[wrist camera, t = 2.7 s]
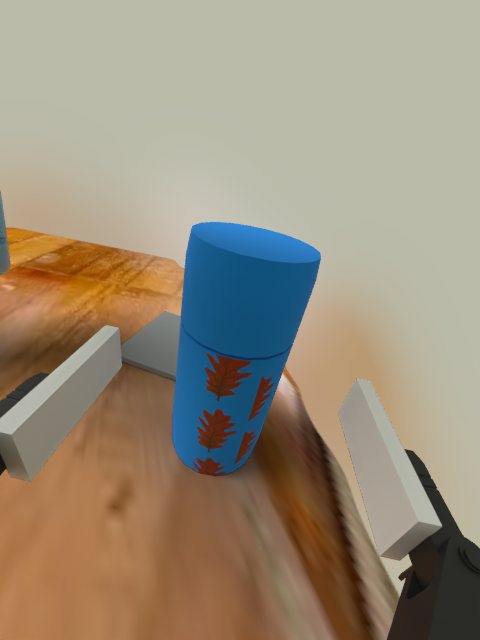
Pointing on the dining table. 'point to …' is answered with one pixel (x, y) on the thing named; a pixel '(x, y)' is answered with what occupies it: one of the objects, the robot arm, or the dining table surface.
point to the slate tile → (155, 346)
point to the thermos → (235, 338)
